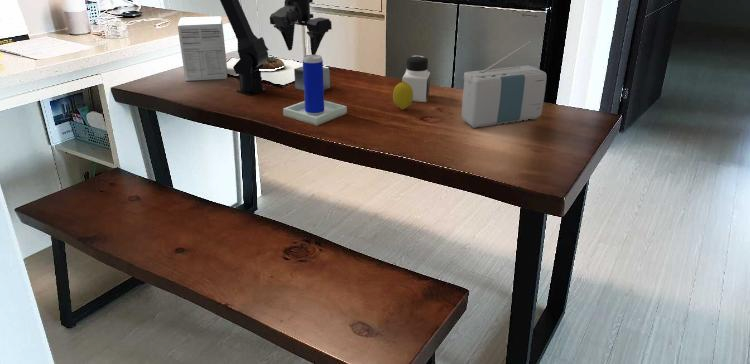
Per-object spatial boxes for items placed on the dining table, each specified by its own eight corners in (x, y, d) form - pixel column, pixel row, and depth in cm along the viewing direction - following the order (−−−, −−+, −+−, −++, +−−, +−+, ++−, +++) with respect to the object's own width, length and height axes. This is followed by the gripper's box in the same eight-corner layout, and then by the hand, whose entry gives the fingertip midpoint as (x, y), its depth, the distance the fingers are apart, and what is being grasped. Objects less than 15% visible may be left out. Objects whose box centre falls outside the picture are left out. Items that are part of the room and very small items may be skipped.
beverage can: (311, 107, 154) (308, 53, 148) (327, 110, 152) (326, 55, 146) (301, 113, 150) (298, 57, 143) (318, 116, 148) (316, 60, 142)
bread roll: (250, 72, 188) (249, 57, 186) (254, 68, 198) (253, 53, 196) (284, 73, 189) (283, 58, 187) (286, 69, 199) (285, 54, 197)
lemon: (415, 108, 157) (416, 80, 153) (408, 114, 152) (409, 85, 149) (397, 105, 159) (397, 77, 155) (389, 111, 154) (389, 82, 151)
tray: (283, 115, 150) (283, 108, 150) (314, 104, 159) (314, 97, 158) (316, 125, 144) (316, 118, 143) (346, 113, 152) (346, 106, 152)
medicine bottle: (426, 102, 161) (428, 61, 156) (401, 100, 163) (403, 59, 157) (429, 95, 168) (431, 54, 162) (405, 93, 169) (406, 53, 163)
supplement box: (227, 79, 181) (221, 23, 173) (185, 81, 178) (176, 25, 170) (227, 68, 192) (221, 15, 184) (187, 70, 189) (179, 17, 182)
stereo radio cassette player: (473, 131, 142) (480, 52, 133) (457, 120, 148) (463, 44, 139) (542, 121, 148) (553, 45, 140) (523, 111, 155) (533, 38, 146)
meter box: (295, 88, 172) (294, 68, 170) (311, 82, 178) (310, 64, 175) (314, 93, 168) (313, 73, 165) (330, 87, 173) (330, 68, 171)
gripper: (252, -5, 151) (257, 53, 158) (302, 2, 141) (305, 63, 148) (282, -10, 159) (286, 45, 166) (332, -3, 149) (333, 55, 156)
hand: (301, 52), depth 159 cm, fingers open, 9 cm apart
